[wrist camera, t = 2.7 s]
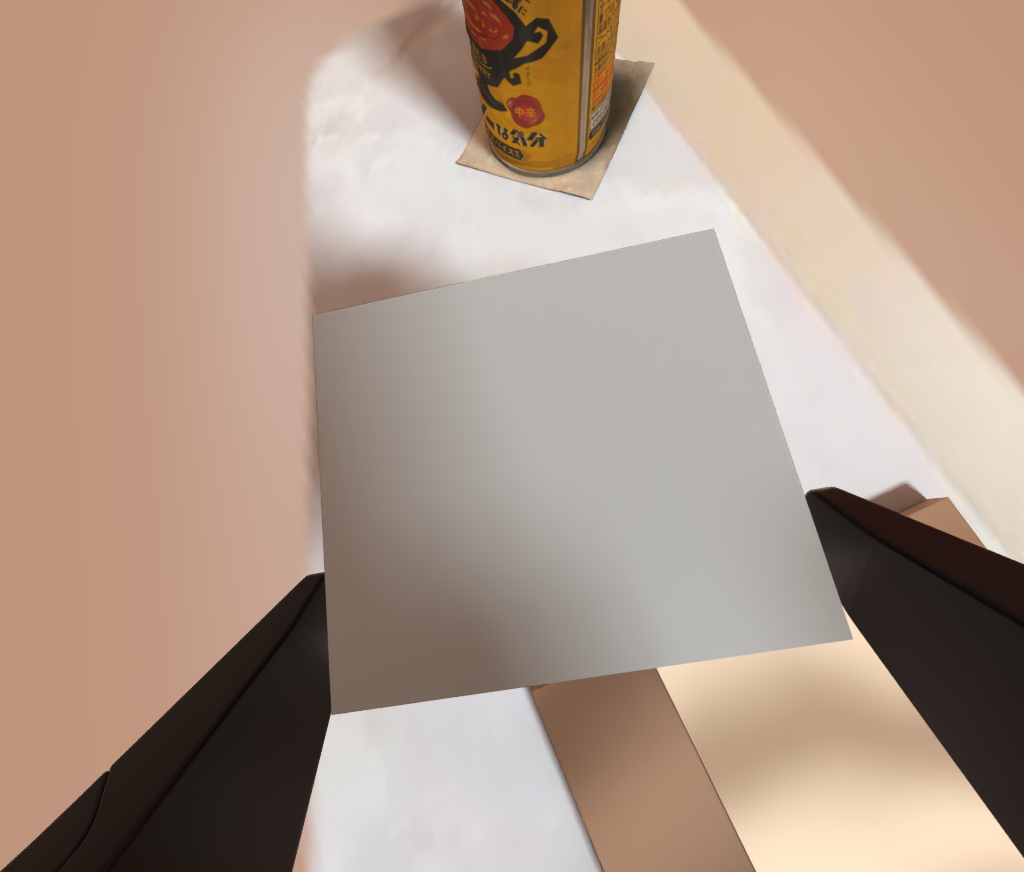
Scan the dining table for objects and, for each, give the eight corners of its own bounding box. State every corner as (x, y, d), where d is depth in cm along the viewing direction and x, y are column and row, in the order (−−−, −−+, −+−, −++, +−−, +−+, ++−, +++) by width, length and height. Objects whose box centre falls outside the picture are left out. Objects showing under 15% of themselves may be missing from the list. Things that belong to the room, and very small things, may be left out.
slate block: (629, 560, 16) (853, 640, 4) (501, 580, 16) (331, 714, 4) (604, 447, 17) (713, 228, 5) (484, 468, 17) (311, 314, 5)
